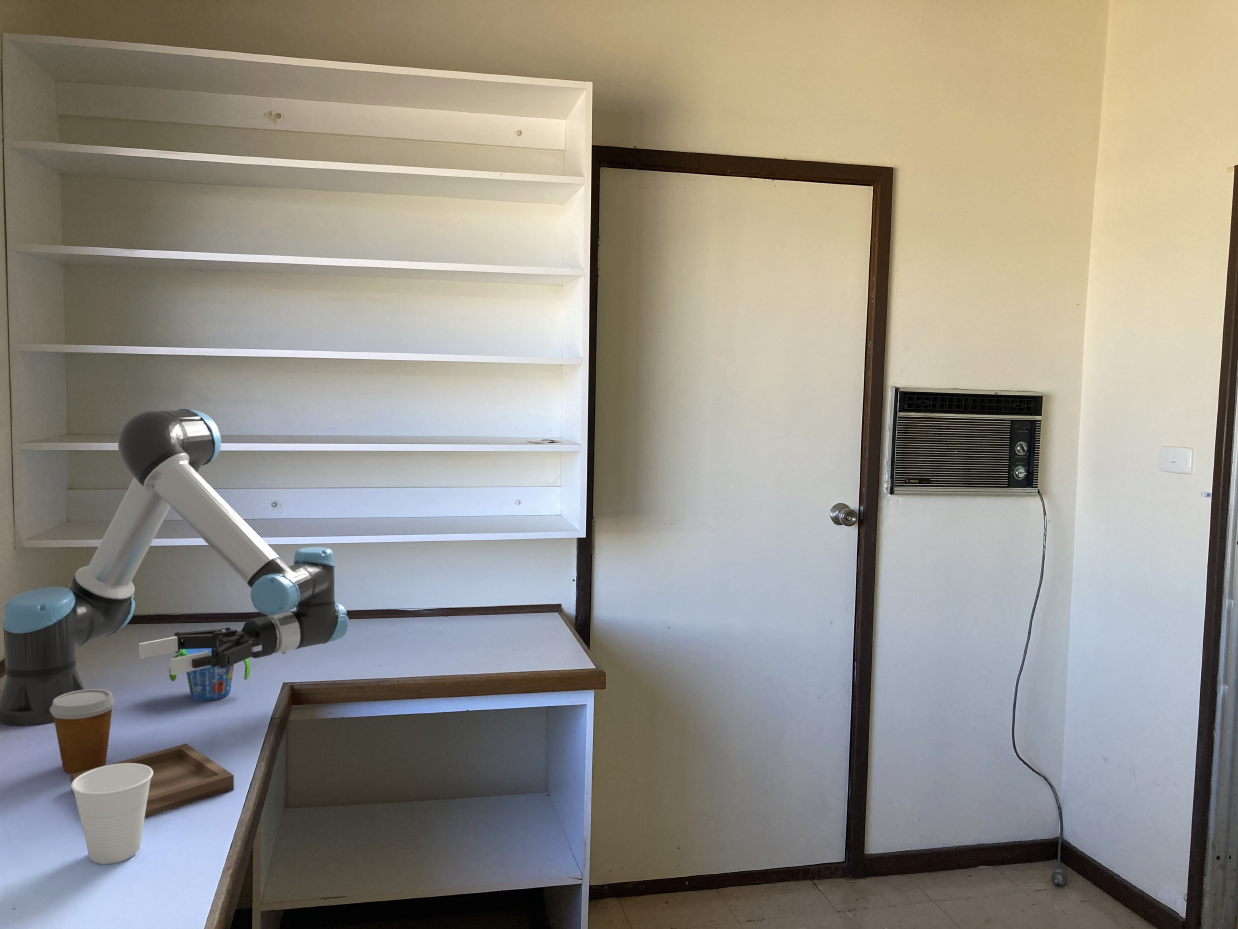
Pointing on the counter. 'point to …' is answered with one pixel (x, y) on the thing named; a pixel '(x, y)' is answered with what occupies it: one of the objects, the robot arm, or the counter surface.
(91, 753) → the disposable coffee cup
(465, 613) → the counter surface
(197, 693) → the snack cup
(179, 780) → the tray
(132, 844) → the cup
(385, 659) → the counter surface
